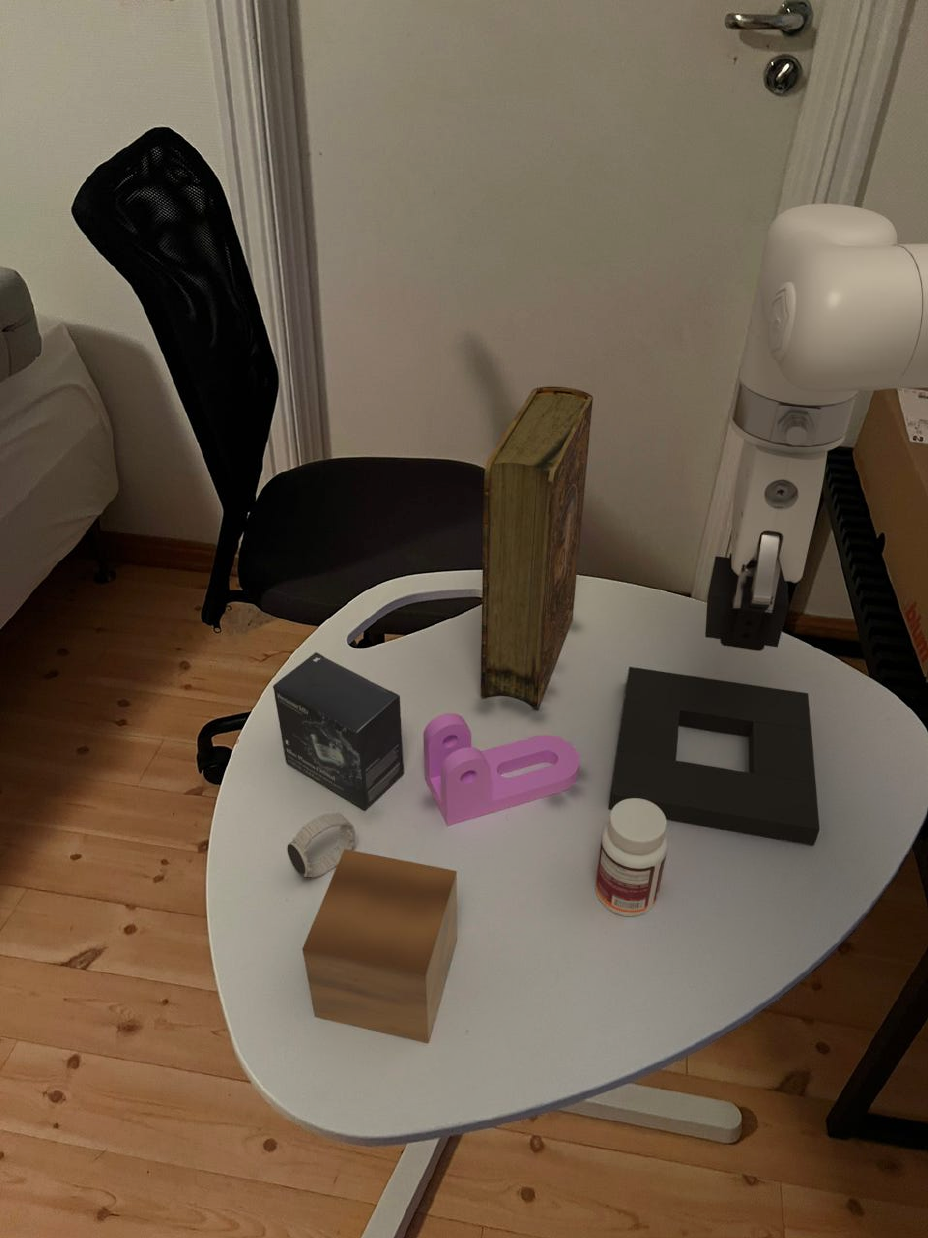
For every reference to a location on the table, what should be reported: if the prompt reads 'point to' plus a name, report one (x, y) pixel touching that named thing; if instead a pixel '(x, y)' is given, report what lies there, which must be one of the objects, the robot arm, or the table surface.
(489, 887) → the table surface
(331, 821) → the wristwatch
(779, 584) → the pad
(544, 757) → the bracket
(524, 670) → the book
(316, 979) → the wooden block
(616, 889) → the pill bottle
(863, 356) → the robot arm
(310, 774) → the box
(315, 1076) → the table surface
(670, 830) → the table surface
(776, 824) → the base pad
